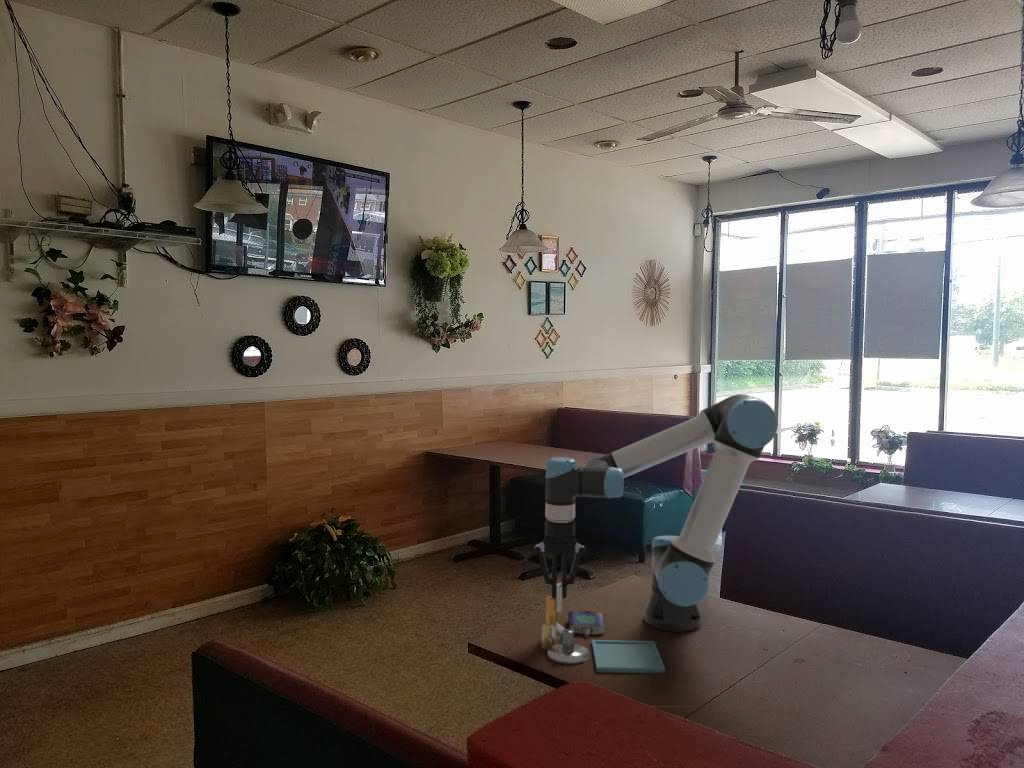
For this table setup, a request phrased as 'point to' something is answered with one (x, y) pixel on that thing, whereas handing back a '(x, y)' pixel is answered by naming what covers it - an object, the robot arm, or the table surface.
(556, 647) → the crank base
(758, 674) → the table surface
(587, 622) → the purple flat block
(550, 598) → the crank
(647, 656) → the tray
